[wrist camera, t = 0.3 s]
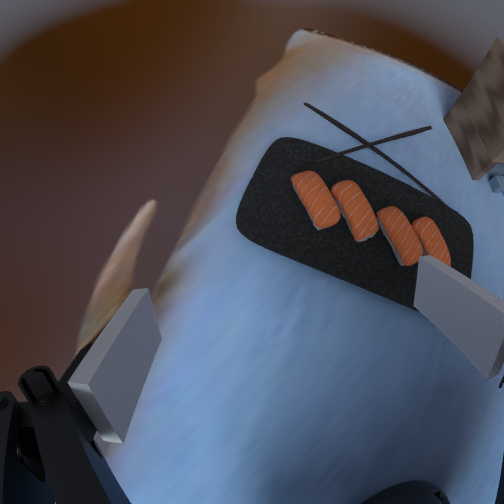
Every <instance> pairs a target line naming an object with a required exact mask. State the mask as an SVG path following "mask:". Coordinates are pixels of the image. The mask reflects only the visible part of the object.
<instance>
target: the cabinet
mask: <svg viewBox="0 0 504 504" xmlns="http://www.w3.org/2000/svg"><path fill="white" fill-rule="evenodd" d="M444 121H445V123H446V125H447V127H448V129H449V131H450V133H451V135H452V136H453V138H454V140H455V142H456V144H457V147H458V149H459V151H460V153H461V155H462V157H463V159H464V161H465V164H466V166H467V168H468V171H469V173H470V175H471V178H472V180H479V179H480V178H481V177H482V176H483V175H485V174H486V173H487V172H488V171H489V170H490V169H491V168H492V167H493V166H494V165H495V164H497V163H504V41H503V40H501V39H500V38H498V37H497V38H496V40H495V41H494V43H493V45H492V47H491V48H490V50H489V52H488V53H487V55H486V56H485V58H484V60H483V61H482V63H481V65H480V66H479V68H478V69H477V71H476V72H475V74H474V76H473V77H472V79H471V80H470V82H469V83H468V85H467V86H466V88H465V89H464V91H463V92H462V94H461V95H460V97H459V98H458V100H457V101H456V102H455V104H454V105H453V107H452V108H451V110H450V111H449V113H448V114H447V115H446V117H445V118H444Z"/></svg>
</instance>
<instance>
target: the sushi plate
mask: <svg viewBox="0 0 504 504" xmlns="http://www.w3.org/2000/svg"><path fill="white" fill-rule="evenodd" d="M304 105H305V106H307V107H308V108H310V109H312V110H313V111H315V112H316V113H318V114H319V115H321V116H322V117H324V118H325V119H327V120H328V121H330V122H331V123H333V124H334V125H335V126H337V127H338V128H340V129H341V130H343V131H345V132H346V133H348V134H349V135H351V136H353V137H354V138H356V139H357V140H359V141H360V142H362V143H363V144H365V145H361V146H358V147H355V148H352V149H348V150H345V151H342V152H339V153H337V152H334V151H332V150H329V149H327V148H324V147H321V146H319V145H316V144H313V143H310V142H307V141H304V140H300V139H296V138H289V137H284V138H280V139H278V140H276V141H275V142H274V143H272V145H271V146H270V147H269V148H268V150H267V151H266V153H265V154H264V156H263V158H262V160H261V161H260V163H259V165H258V167H257V169H256V171H255V173H254V175H253V177H252V179H251V181H250V183H249V185H248V187H247V189H246V191H245V193H244V195H243V198H242V200H241V202H240V205H239V208H238V211H237V215H236V224H237V228H238V230H239V231H240V233H241V234H242V235H244V236H245V237H246V238H247V239H249V240H251V241H252V242H254V243H256V244H258V245H260V246H262V247H264V248H266V249H269V250H271V251H273V252H275V253H278V254H280V255H283V256H285V257H288V258H290V259H292V260H295V261H297V262H300V263H302V264H305V265H307V266H310V267H312V268H315V269H317V270H319V271H322V272H324V273H327V274H329V275H332V276H334V277H337V278H339V279H341V280H344V281H346V282H349V283H351V284H354V285H356V286H359V287H361V288H363V289H366V290H368V291H371V292H373V293H376V294H378V295H380V296H383V297H385V298H388V299H390V300H392V301H395V302H397V303H400V304H402V305H405V306H407V307H409V308H412V309H414V310H417V309H416V308H415V307H414V306H413V305H414V298H415V291H416V282H417V273H418V263H419V257H422V256H428V255H431V256H433V257H435V258H436V259H438V260H440V261H441V262H443V263H445V264H446V265H448V266H450V267H451V268H453V269H455V270H456V271H458V272H460V273H461V274H463V275H465V276H466V277H468V278H469V279H471V271H472V262H473V233H472V229H471V226H470V224H469V223H468V221H467V220H466V219H465V218H464V217H463V216H461V215H460V214H459V213H457V212H456V211H455V210H453V209H451V208H450V207H448V206H447V205H446V204H445V203H444V202H443V201H442V200H441V199H439V198H438V197H437V196H436V195H435V194H434V193H433V192H431V191H430V190H429V189H428V188H427V187H426V186H424V185H423V184H422V183H421V182H420V181H418V180H417V179H416V178H415V177H414V176H412V175H411V174H410V173H409V172H407V171H406V170H405V169H404V168H402V167H401V166H400V165H398V164H397V163H396V162H395V161H393V160H392V159H391V158H389V157H388V156H387V155H385V154H384V153H383V152H381V151H380V150H378V149H377V148H376V147H374V146H373V145H376V144H380V143H384V142H387V141H391V140H395V139H399V138H403V137H407V136H411V135H415V134H418V133H421V132H424V131H427V130H430V129H432V127H431V126H428V127H424V128H420V129H416V130H412V131H409V132H405V133H402V134H398V135H395V136H392V137H388V138H385V139H382V140H378V141H375V142H371V143H369V142H367V141H366V140H365V139H363V138H362V137H360V136H359V135H357V134H356V133H354V132H353V131H352V130H350V129H349V128H347V127H346V126H344V125H342V124H341V123H339V122H338V121H336V120H335V119H333V118H331V117H330V116H328V115H327V114H325V113H323V112H322V111H320V110H318V109H317V108H315V107H313V106H311V105H310V104H308V103H304ZM366 147H369V148H371V149H372V150H374V151H375V152H377V153H378V154H379V155H381V156H382V157H384V158H385V159H386V160H388V161H389V162H391V163H392V164H393V165H395V166H396V167H397V168H399V169H400V170H401V171H402V172H404V173H405V174H406V175H408V176H409V177H410V178H411V179H413V180H414V181H415V182H416V183H418V184H419V185H420V186H421V187H422V188H424V189H425V190H426V191H427V192H428V193H430V194H431V195H432V196H433V197H434V198H435V199H434V198H432V197H430V196H429V195H427V194H425V193H423V192H421V191H419V190H417V189H415V188H413V187H411V186H410V185H408V184H406V183H404V182H402V181H400V180H397V179H395V178H393V177H391V176H389V175H387V174H385V173H383V172H381V171H379V170H376V169H374V168H372V167H370V166H367V165H365V164H363V163H361V162H358V161H356V160H354V159H351V158H349V157H347V156H344V155H343V154H346V153H349V152H353V151H356V150H359V149H363V148H366ZM436 199H437V200H436ZM417 311H418V310H417ZM419 312H420V311H419Z"/></svg>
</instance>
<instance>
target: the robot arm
mask: <svg viewBox="0 0 504 504" xmlns="http://www.w3.org/2000/svg"><path fill="white" fill-rule="evenodd" d="M413 306H414V307H415V308H416V309H417V310H418V311H420V312H421V313H422V314H423V315H424V316H425V317H426V318H427V319H428V320H429V321H430V322H431V323H432V324H433V325H434V326H435V327H436V328H437V329H438V330H439V331H440V332H441V333H442V334H443V335H444V336H445V337H446V338H447V339H448V340H449V341H450V342H451V343H452V344H453V345H454V346H455V347H456V348H457V349H458V350H459V351H460V352H461V353H462V354H463V355H464V356H465V357H466V358H467V359H468V360H469V361H470V362H471V363H472V364H473V365H474V366H475V367H476V368H477V370H478V371H479V372H480V373H481V374H482V375H483V376H484V377H485V378H486V379H487V380H488V379H490V378H492V377H493V376H495V375H497V374H499V372H500V370H501V367H502V365H503V362H504V301H503V300H502V299H500V298H499V297H497V296H496V295H494V294H493V293H491V292H490V291H488V290H487V289H485V288H483V287H482V286H480V285H479V284H477V283H476V282H474V281H473V280H471V279H469V278H468V277H466V276H465V275H463V274H461V273H460V272H458V271H456V270H455V269H453V268H451V267H450V266H448V265H446V264H445V263H443V262H441V261H440V260H438V259H436V258H435V257H433V256H431V255H428V256H422V257H419V263H418V273H417V282H416V291H415V298H414V305H413ZM161 339H162V338H161V334H160V331H159V327H158V324H157V320H156V316H155V313H154V309H153V305H152V301H151V297H150V293H149V289H148V288H146V289H134V290H133V291H132V292H131V293H130V295H129V296H128V297H127V299H126V300H125V301H124V303H123V304H122V305H121V307H120V308H119V309H118V311H117V312H116V313H115V315H114V316H113V317H112V319H111V320H110V322H109V323H108V324H107V326H106V327H105V328H104V330H103V331H102V333H101V334H100V335H99V337H98V338H97V340H96V341H95V343H89V344H88V345H87V346H85V347H84V348H83V349H81V350H80V352H79V353H78V355H77V356H76V357H75V359H74V360H73V362H72V363H71V366H69V367H68V369H67V370H66V372H65V373H64V374H63V376H62V378H61V379H60V380H59V382H57V380H56V378H55V376H54V374H53V372H52V371H51V369H50V368H49V367H47V366H36V367H33V368H31V369H29V370H27V371H26V372H25V373H23V374H22V375H21V377H20V378H19V381H18V386H19V387H20V389H21V391H22V392H23V394H24V396H25V397H26V399H27V400H28V402H18V401H17V400H16V398H15V397H14V395H13V394H12V393H11V392H9V391H2V392H0V504H55V503H56V504H131V502H130V501H129V499H128V498H127V496H126V495H125V493H124V492H123V490H122V488H121V487H120V485H119V483H118V482H117V480H116V478H115V476H114V475H113V473H112V471H111V469H110V468H109V466H108V464H107V462H106V460H105V458H104V456H103V454H102V452H101V451H100V448H99V447H98V444H97V443H96V442H95V440H94V439H93V438H94V435H95V433H96V431H98V433H99V434H100V436H101V437H102V438H103V440H104V441H109V442H116V443H123V442H124V439H125V436H126V433H127V431H128V428H129V425H130V422H131V419H132V416H133V413H134V411H135V408H136V405H137V402H138V399H139V397H140V394H141V391H142V389H143V386H144V383H145V381H146V378H147V375H148V373H149V370H150V367H151V365H152V362H153V360H154V357H155V354H156V352H157V349H158V347H159V344H160V342H161ZM503 383H504V376H503V378H502V380H501V382H500V385H499V388H501V387H502V385H503ZM17 449H18V454H17ZM363 504H450V502H449V500H448V498H447V496H446V494H445V493H444V492H443V491H442V490H441V489H439V488H438V487H436V486H435V485H433V484H431V483H429V482H425V481H411V482H406V483H402V484H398V485H396V486H393V487H390V488H388V489H386V490H384V491H382V492H380V493H378V494H376V495H375V496H373V497H371V498H370V499H368V500H367V501H365V502H364V503H363ZM495 504H504V454H503V462H502V470H501V476H500V482H499V487H498V492H497V497H496V501H495Z"/></svg>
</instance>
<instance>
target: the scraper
mask: <svg viewBox="0 0 504 504" xmlns="http://www.w3.org/2000/svg"><path fill="white" fill-rule="evenodd" d="M489 183H490V186H491V188H492V191H493V192H497V193H503V195H504V176H497V175H495V176H494V177H493V178H492V179H491V180H489Z"/></svg>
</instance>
